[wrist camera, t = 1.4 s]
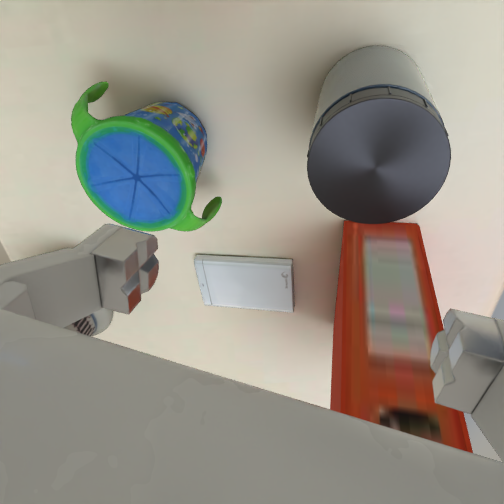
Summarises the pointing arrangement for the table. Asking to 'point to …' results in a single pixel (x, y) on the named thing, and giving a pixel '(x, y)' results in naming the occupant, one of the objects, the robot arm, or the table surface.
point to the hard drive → (246, 282)
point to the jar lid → (378, 156)
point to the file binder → (389, 335)
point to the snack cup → (142, 164)
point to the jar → (371, 77)
